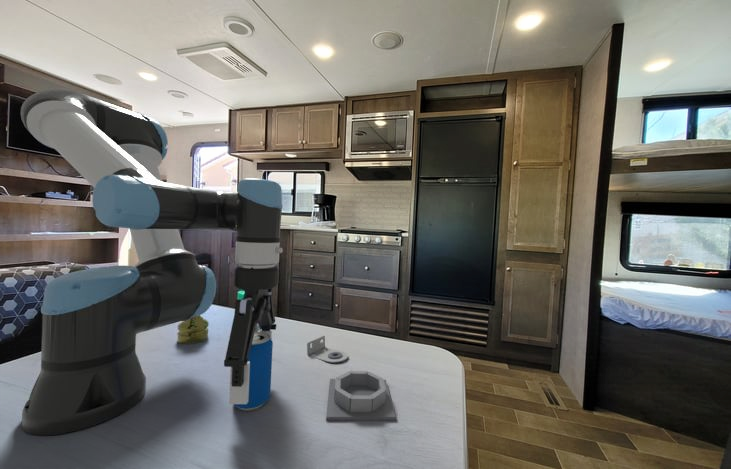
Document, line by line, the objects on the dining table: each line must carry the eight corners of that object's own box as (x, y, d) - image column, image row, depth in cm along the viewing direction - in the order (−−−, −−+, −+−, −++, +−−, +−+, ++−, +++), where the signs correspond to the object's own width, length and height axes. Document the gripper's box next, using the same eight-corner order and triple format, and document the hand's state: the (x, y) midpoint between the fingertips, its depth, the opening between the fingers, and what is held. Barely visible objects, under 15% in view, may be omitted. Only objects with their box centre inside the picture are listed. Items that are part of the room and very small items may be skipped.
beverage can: (277, 399, 53) (280, 336, 52) (246, 418, 47) (249, 347, 47) (255, 387, 56) (258, 328, 56) (224, 403, 51) (227, 338, 50)
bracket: (337, 368, 66) (337, 353, 66) (306, 355, 72) (307, 342, 72) (353, 358, 72) (353, 344, 72) (323, 347, 77) (324, 335, 77)
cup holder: (326, 420, 48) (326, 402, 48) (329, 381, 60) (330, 367, 60) (395, 420, 48) (396, 403, 48) (385, 382, 60) (386, 368, 60)
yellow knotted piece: (200, 332, 83) (202, 298, 83) (213, 338, 78) (214, 303, 78) (172, 339, 77) (173, 303, 77) (184, 347, 72) (185, 308, 72)
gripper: (257, 277, 39) (251, 427, 39) (291, 258, 64) (287, 350, 64) (201, 275, 38) (195, 428, 39) (257, 257, 63) (254, 350, 64)
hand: (252, 380), depth 51 cm, fingers open, 13 cm apart
